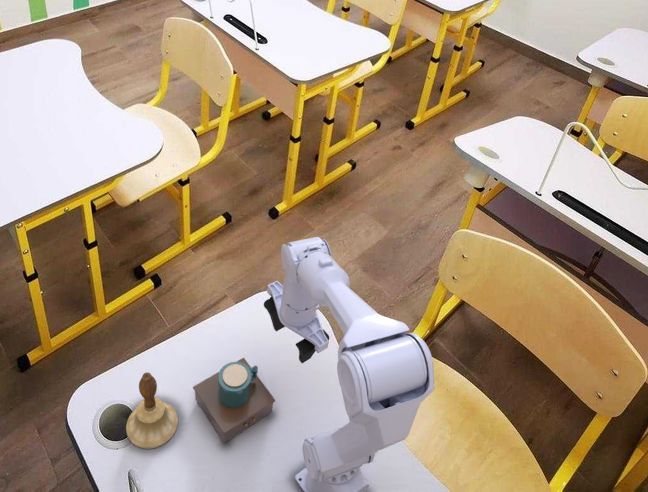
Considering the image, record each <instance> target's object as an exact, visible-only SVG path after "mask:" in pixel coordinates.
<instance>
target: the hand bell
mask: <svg viewBox="0 0 648 492" xmlns="http://www.w3.org/2000/svg"><path fill="white" fill-rule="evenodd" d="M157 389H158V384H157V380H156V378H155V377H154V376H153V375H152V373H150V372H148V371H147V372H144V373H143V374H142V376H141V378H140V380H139V382H138V391H139V394H140V395H141V397H142V398H143V400H141V401H140V402H139V403H138V404H137V406H136V408H134V410H133V411H132V412H131V413H130V415H129V416H128V418H127V421H126V425H125V433H126V436H127V438H128V440H129V442H131V443H132V444H133V445H134V446H136V447H138V448H140V449H147V450H150V449H155V448H159V447H161V446H163V445H165V444H166V443H168V442H169V441H170V440H171V439H172V438H173V437H174V435H175V434H176V433H177V430H178V426H179V417H178V413H177V411H176V409H175V408H174V407H173V406H172V405H170V404H169V403H167V402H165V401H163V400H162V399H160V398H158V397H155V395H156V393H157Z"/></svg>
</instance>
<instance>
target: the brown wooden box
mask: <svg viewBox="0 0 648 492" xmlns="http://www.w3.org/2000/svg"><path fill="white" fill-rule="evenodd" d="M236 362H241V363H243V364H245V365H247V366H248V367H249V369H250V368H252V366H251V365H250V364H249V363H248V361H247V360H246V358H245V357H242V358H240V359H239V360H236ZM219 372H220V371H218V372H215V374H212V375H211V376H209V377H207V378H205V379H204V380H202V381H200V382H199V383H197V384H196V385H194V386H193V387H192V389H193V390H194V399H195V401H196V403H197V404H198V406H199V407H200V408H201V410H202V412H203V413H204V415H205V416H206V418H207V419H208V421H209V423H210V424H211V425H212V427H213V428H214V430H215V431H216V433H217V435H218V436H219V438H220V439H221V441H222V442H223V444H225V443H226V442H228V441H230V440H231V439H233V438H234V437H236V436H237V435H239V434H240V433H242V432H243V431H245V430H246V429H247V428H250V427H251V426H252V425H254V424H255V423H257V422H259V421H260V420H261V419H263V418H265V417H266V416H267V415H269V414H271V413H272V412H273V408H274V403H275V402H276V398H274V396H273V395H272V394H271V392H270V391H269V389H268V388H267V386H266V385H265V384H264V383H263V381H262V380H261V378H260V377H259V376H258V375H257V378H256V379H254V380H253V381H251V392H250V397H249V399H248V401H247V402H246V403H245V404H244V405H242V406H240V407H237V408H229V407H226V406H224V405H223V404H222V403H221V402H220V400H219V398H218V375H219ZM252 374H253V373H252Z"/></svg>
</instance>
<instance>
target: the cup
mask: <svg viewBox="0 0 648 492" xmlns="http://www.w3.org/2000/svg"><path fill="white" fill-rule="evenodd" d="M258 369H259V367H258V366H257V365H253V366H251V368H250V369H249V367H248V366H247V365H245V364H243V363H241V362H237V361H232V362H228V363H226V364H225V365H223V367H221V369H219V371H218V372H219V375H218V398H219V400H220V402H221V403H222V404H223V405H224V406H226V407H229V408H237V407H240V406H242V405H244V404H245V403H246V402H247V401H248V399H249V397H250V392H251V381H253V380H254V379H256V378H257V376H258V371H259V370H258ZM252 373H253V374H252Z"/></svg>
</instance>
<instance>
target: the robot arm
mask: <svg viewBox="0 0 648 492" xmlns="http://www.w3.org/2000/svg"><path fill="white" fill-rule="evenodd" d="M280 257H281V258H280V259H281V264H282V268H283V272H284V279H283V284H281V282H279V280H275V281H273V282H271V283H269V284H268V285H267V289H266V293H267V294H268V295H269V296H270V297H269V298H268V299H266V300H265V301H264V302H263V307H264V309H265V310H266V311H267V312H268V315H269V318H270V320H271V324H272V327H273V329H274V331H275V332H278V331H280V330H282V329H283V328H287V329H288V330H290V331H292V332H293V333H295V334H297V335H298V336H300V337H301V338H303V339H301V340H299V341H298V342H296V343H295V346H296V348H297V349H298V360H299V362H300V363H301V364H304V363H306V362H307V361H309V360H310V359H311V358H312V357H313V355H314V354H315V353H317V354H320V353H322V352H323V351H324V350H326V349H328V347H329V344H330V335H329V334H328V333H327V331H326V330H325V329H323V326H322V323H321V321H320V319H319V316H318V312H317V311H318V310H319V309H320V306H321V307H327V308H328V310H329V311H330V313H331V315H332V316H333V318H334V320H335V322H336V323H337V325H338V326H339V328H340V330H341V331H342V334H343V335H344V336H343V337H342V339H341V340H340V343H339V345H338V351H337V363H336V364H337V366H336V369H337V370H336V371H337V372H336V373H337V377H338V383H339V386H340V390H341V394H342V398H343V399H342V400H343V404H344V408H345V412H346V414H347V416H348V421H349V422H347V423H346V424H345V425H342V426H341V427H338V428H335V429H333V430H329V431H327V432H324V433H321V434H318V435H315V436H312V437H309V436H308V437H306V438H305V439H304V441H303V443H302V445H301V447H302V448H301V449H302V456H303V462H304V464H305V467H304V468H302V470H301V471H299V472H297V473H296V474H295V476H294V479H295V481H296V482H297V484H298V485H299V487H300V488H301V489H302V491H303V492H367V491H368V489H369V487H370V484H369V482H368V481H367V479H366V478H365V476H364V474H363V472H362V470H361V468H362V467H363V465H366V464H368V465H369V464H371V463H373V461H374V459H375V455H376V454H378V452H379V451H381V450H384V449H386V448H388V447H391V446H394V445H395V444H398V443H400V442H403V441H404V440H407V438H408V437H409V435H410V432H411V430H412V427H413V425H414V422H415V419H416V416H417V413H418V410H419V408H420V406H421V404H422V403H423V402H424V401H425V399H427V398H428V397H429V396H430V395H431V393H433V392H434V391H435V366H434V360H433V356H432V353H431V350H430V348H429V346H428V345H427V343H426V342H425V340H424V339H423V338H422V337H420V336H419V335H418V333H415V332H409V331H411V330H410V328H409V327H408V325H407V324H406V323H405V322H403V321H400V320H396V319H394V318H390V317H387V316H384V315H382V314H379V313H378V312H377V311H376V310H375V309H374V308H373V307H372V306H370V304H368V303H367V302H366V301H365V300H364V299H362V297H361V296H359V295H358V294H357V293H356V292H355V291H353V290H352V289H351V288H350V287H351V280H350V277H349V275H348V274H347V272H346V271H345V269H344V268H342V267H341V265H339V264H338V262H336V260H335V259H334V258H333V255H332V251H331V248H330V245H329V243H328V241H327V240H326V239H325V238H322V239H321V237H319V236H314V237H309V238H303V239H298V240H294V241H290V242H289V241H288V242H287V243H286V244H285V243H282V245H281V248H280ZM406 332H408V333H406Z"/></svg>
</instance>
